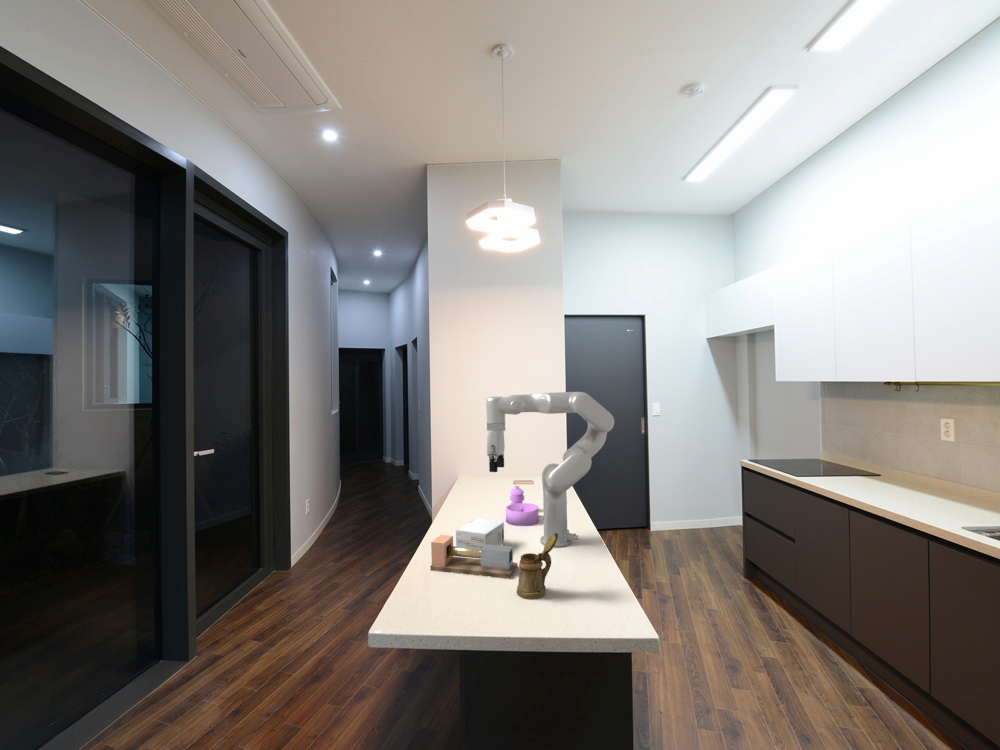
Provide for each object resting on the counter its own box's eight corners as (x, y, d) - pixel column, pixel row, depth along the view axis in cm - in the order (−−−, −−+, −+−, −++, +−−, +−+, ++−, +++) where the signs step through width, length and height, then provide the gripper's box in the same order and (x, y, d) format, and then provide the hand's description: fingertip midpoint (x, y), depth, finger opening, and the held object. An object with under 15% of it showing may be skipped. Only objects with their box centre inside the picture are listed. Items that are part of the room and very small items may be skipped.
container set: (541, 525, 212) (541, 496, 212) (508, 527, 210) (508, 497, 210) (530, 509, 237) (530, 483, 237) (501, 511, 235) (500, 485, 235)
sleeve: (512, 565, 163) (512, 546, 163) (509, 571, 158) (508, 551, 158) (485, 562, 166) (485, 544, 166) (481, 568, 161) (480, 549, 161)
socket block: (453, 557, 171) (452, 535, 171) (444, 566, 163) (444, 543, 163) (440, 556, 172) (440, 534, 172) (431, 564, 165) (431, 542, 165)
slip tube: (497, 558, 164) (496, 548, 164) (494, 561, 161) (494, 551, 161) (443, 552, 170) (443, 543, 170) (439, 556, 166) (439, 546, 166)
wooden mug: (562, 596, 142) (561, 537, 142) (519, 600, 140) (518, 540, 140) (555, 584, 151) (554, 528, 151) (514, 587, 149) (513, 531, 149)
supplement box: (486, 559, 173) (485, 534, 173) (455, 554, 179) (455, 529, 179) (504, 544, 189) (504, 521, 189) (476, 540, 194) (475, 517, 194)
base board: (517, 567, 165) (517, 562, 165) (510, 578, 156) (510, 574, 156) (441, 559, 173) (441, 555, 173) (430, 570, 164) (430, 565, 164)
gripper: (493, 424, 198) (494, 465, 197) (480, 429, 181) (481, 473, 181) (510, 425, 195) (511, 465, 195) (499, 429, 179) (499, 474, 179)
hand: (497, 469), depth 188 cm, fingers open, 9 cm apart
